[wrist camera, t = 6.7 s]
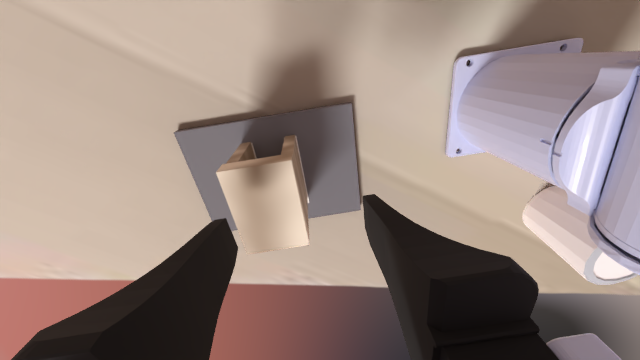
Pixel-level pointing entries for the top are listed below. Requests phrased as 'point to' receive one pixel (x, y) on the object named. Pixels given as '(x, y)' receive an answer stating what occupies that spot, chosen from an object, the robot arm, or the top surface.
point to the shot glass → (571, 237)
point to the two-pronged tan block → (267, 197)
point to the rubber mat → (267, 140)
